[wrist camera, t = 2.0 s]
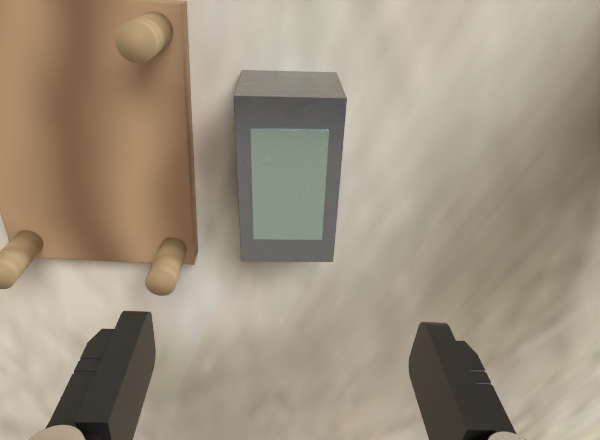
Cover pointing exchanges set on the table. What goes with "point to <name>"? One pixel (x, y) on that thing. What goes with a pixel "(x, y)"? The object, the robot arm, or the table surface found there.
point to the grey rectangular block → (288, 163)
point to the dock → (97, 135)
